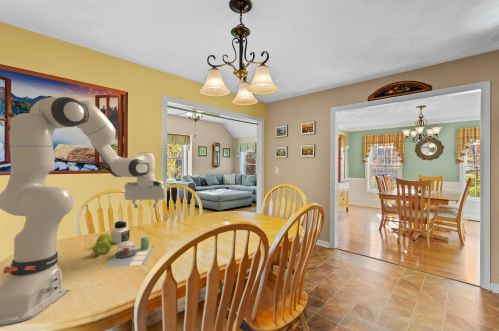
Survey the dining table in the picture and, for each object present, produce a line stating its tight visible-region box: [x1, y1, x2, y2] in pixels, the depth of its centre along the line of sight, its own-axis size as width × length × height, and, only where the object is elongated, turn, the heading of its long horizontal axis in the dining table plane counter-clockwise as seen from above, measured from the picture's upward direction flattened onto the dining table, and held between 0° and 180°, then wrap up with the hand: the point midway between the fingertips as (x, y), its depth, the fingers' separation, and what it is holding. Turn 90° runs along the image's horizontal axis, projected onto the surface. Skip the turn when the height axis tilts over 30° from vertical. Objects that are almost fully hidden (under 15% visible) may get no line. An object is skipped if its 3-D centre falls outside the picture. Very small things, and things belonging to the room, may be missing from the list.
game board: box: [104, 246, 155, 268], centre depth 118 cm, size 23×17×4 cm
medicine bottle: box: [110, 220, 131, 245], centre depth 140 cm, size 7×7×12 cm
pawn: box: [140, 236, 150, 250], centre depth 128 cm, size 4×4×6 cm
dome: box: [116, 240, 135, 253], centre depth 119 cm, size 7×7×3 cm
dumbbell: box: [92, 233, 113, 257], centre depth 126 cm, size 16×8×7 cm, turn 26°
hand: (145, 207), depth 127 cm, fingers open, 8 cm apart
